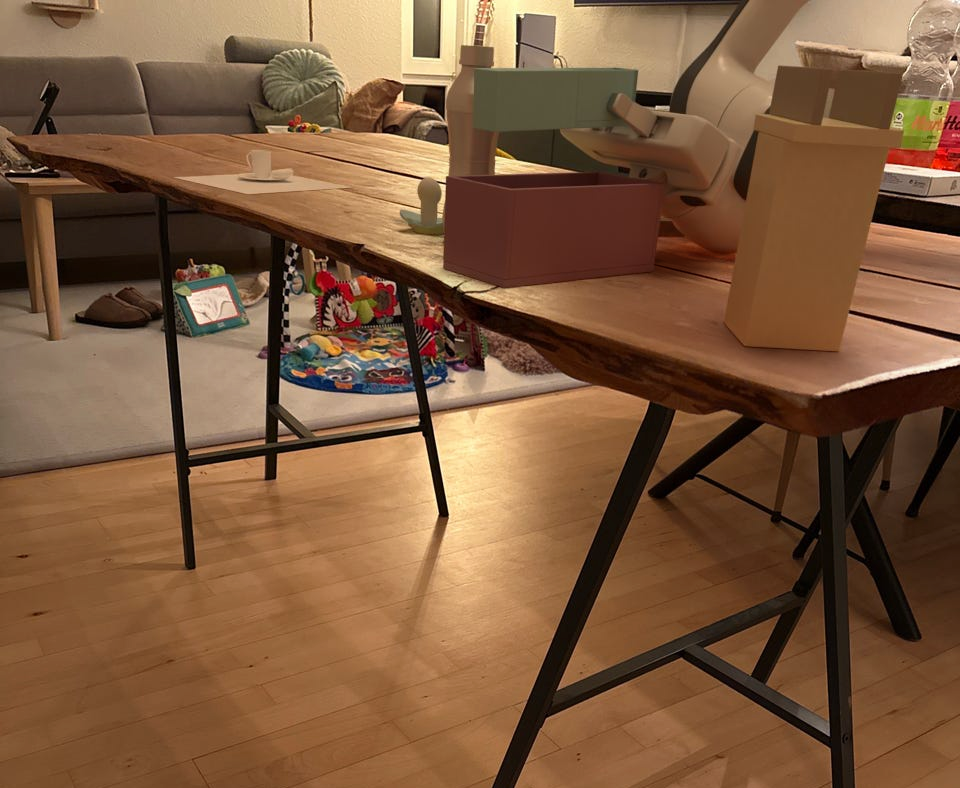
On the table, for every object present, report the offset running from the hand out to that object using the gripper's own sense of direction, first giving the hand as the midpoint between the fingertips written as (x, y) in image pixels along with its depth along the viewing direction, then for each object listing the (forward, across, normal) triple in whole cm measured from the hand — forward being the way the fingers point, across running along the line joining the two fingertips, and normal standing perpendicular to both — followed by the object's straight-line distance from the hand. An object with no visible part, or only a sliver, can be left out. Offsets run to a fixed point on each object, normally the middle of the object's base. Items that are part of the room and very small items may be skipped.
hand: (596, 98), depth 98 cm
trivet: (-35, -23, +1) cm, 41 cm away
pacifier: (-5, -24, +16) cm, 29 cm away
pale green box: (+4, 0, +5) cm, 7 cm away
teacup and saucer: (-5, -70, +17) cm, 72 cm away
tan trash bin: (-4, +31, +16) cm, 35 cm away
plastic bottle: (-4, -15, +16) cm, 23 cm away
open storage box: (-3, +1, +16) cm, 17 cm away
